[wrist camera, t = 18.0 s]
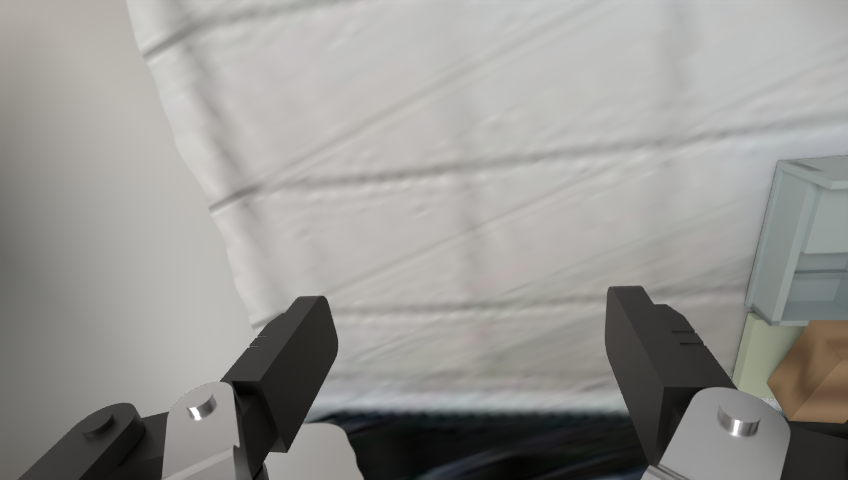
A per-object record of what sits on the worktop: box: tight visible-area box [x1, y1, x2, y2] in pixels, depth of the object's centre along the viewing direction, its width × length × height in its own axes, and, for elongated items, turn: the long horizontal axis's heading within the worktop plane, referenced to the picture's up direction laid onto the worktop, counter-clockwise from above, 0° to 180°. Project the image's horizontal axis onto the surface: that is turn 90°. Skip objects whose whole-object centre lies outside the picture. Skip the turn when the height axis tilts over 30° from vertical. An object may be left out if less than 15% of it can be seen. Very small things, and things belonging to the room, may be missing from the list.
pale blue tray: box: [745, 156, 848, 326], centre depth 33 cm, size 14×8×6 cm, turn 7°
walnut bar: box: [767, 320, 848, 423], centre depth 36 cm, size 10×4×4 cm, turn 6°
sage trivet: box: [732, 313, 807, 398], centre depth 40 cm, size 10×10×1 cm
